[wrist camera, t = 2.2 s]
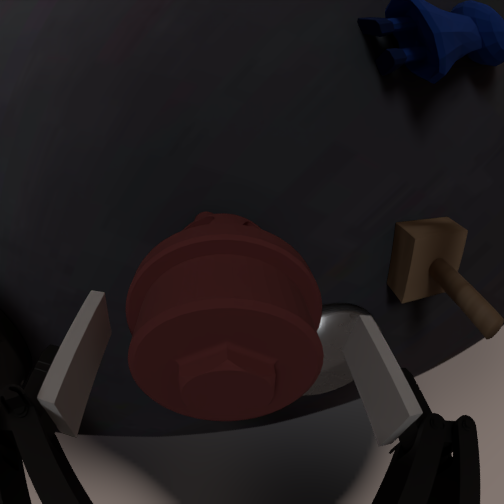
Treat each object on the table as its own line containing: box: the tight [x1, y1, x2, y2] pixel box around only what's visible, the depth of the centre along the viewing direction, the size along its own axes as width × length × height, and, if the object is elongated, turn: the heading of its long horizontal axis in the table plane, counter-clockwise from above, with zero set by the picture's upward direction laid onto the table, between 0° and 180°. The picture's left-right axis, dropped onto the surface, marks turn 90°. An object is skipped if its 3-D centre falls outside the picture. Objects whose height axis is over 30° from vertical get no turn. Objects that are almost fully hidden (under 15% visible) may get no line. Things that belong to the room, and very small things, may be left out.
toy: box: [357, 0, 504, 84], centre depth 12 cm, size 7×6×15 cm
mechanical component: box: [126, 212, 324, 421], centre depth 16 cm, size 12×10×10 cm
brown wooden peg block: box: [387, 217, 504, 339], centre depth 18 cm, size 6×6×11 cm
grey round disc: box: [303, 303, 382, 395], centre depth 27 cm, size 12×12×2 cm
